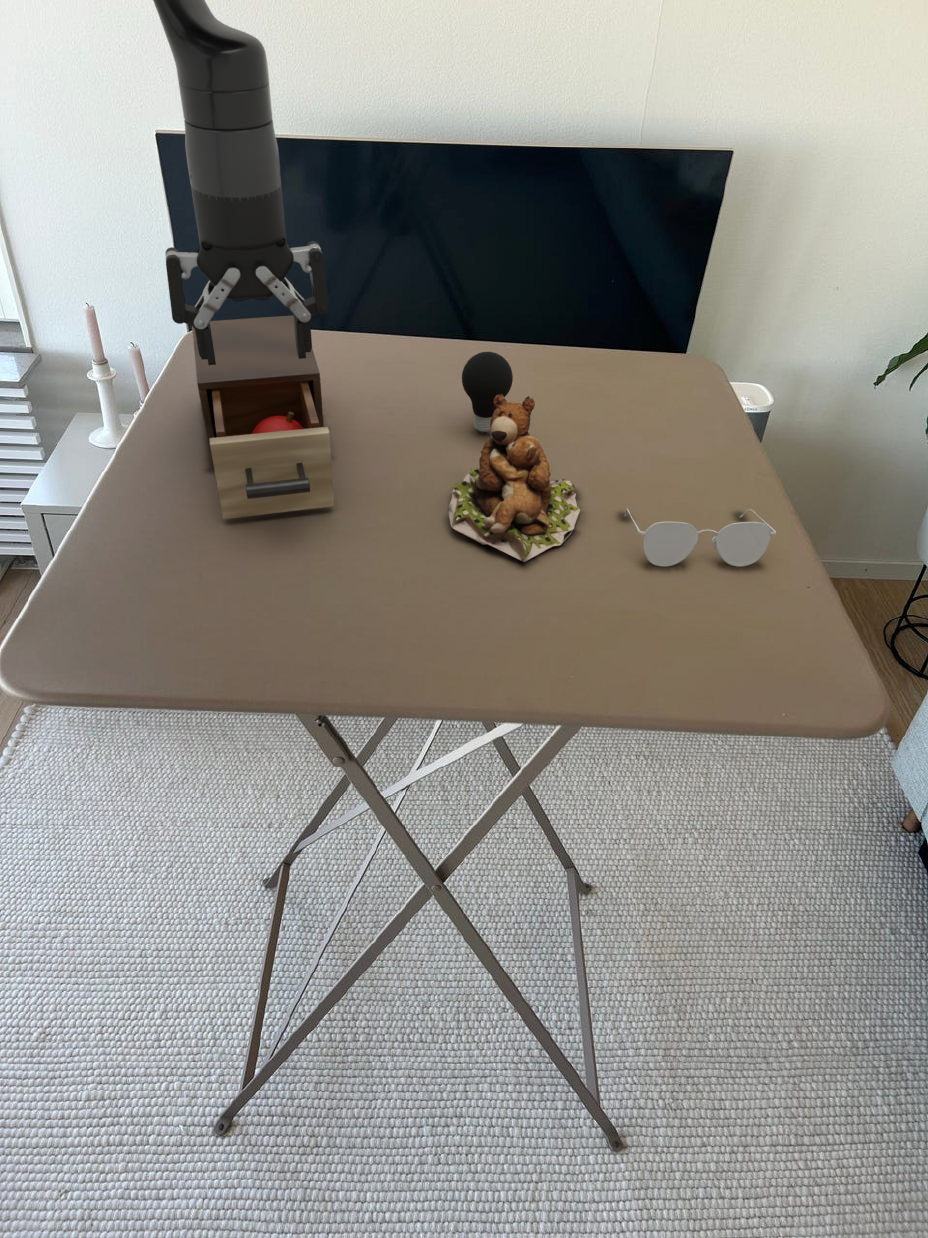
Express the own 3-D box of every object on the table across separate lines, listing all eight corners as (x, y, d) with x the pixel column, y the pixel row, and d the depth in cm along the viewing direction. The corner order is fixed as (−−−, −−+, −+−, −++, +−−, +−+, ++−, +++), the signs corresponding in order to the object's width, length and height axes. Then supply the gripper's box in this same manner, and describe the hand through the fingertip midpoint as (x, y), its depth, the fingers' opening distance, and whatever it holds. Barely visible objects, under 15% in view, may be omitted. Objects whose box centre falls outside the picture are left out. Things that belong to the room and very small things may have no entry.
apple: (254, 485, 90) (274, 425, 87) (234, 451, 94) (253, 392, 90) (308, 489, 94) (329, 432, 91) (287, 456, 98) (306, 400, 94)
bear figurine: (423, 536, 91) (424, 432, 82) (481, 465, 101) (487, 366, 93) (547, 575, 87) (561, 470, 79) (594, 497, 97) (612, 397, 89)
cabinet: (326, 458, 100) (319, 372, 93) (212, 470, 98) (197, 383, 90) (309, 396, 111) (302, 314, 103) (206, 405, 108) (191, 322, 101)
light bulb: (512, 424, 108) (520, 347, 101) (501, 448, 103) (507, 370, 97) (466, 416, 109) (470, 339, 102) (453, 439, 104) (456, 361, 98)
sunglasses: (634, 566, 88) (641, 522, 86) (617, 527, 95) (623, 485, 93) (769, 566, 89) (780, 522, 87) (742, 528, 96) (752, 486, 94)
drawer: (341, 530, 89) (336, 456, 83) (225, 544, 87) (212, 469, 81) (316, 438, 102) (311, 368, 96) (215, 448, 99) (203, 377, 93)
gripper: (148, 196, 70) (182, 382, 81) (326, 190, 73) (336, 370, 84) (147, 167, 76) (180, 346, 87) (314, 163, 79) (325, 336, 90)
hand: (257, 358), depth 85 cm, fingers open, 8 cm apart
